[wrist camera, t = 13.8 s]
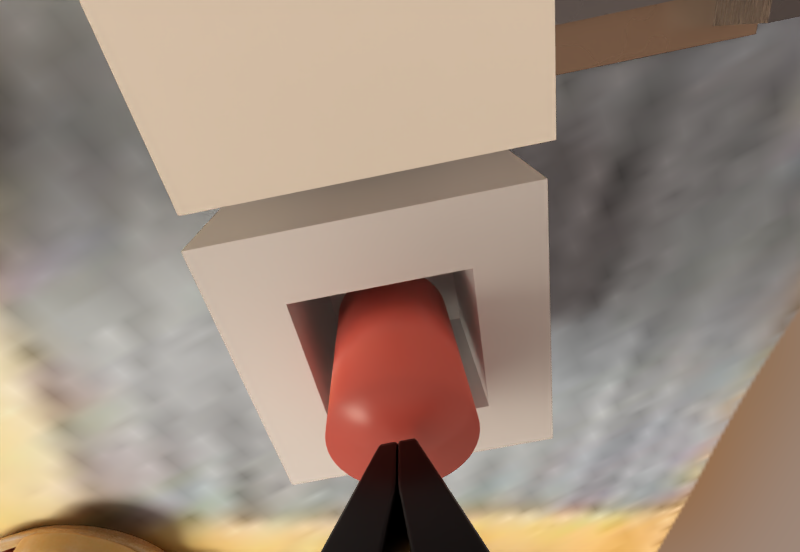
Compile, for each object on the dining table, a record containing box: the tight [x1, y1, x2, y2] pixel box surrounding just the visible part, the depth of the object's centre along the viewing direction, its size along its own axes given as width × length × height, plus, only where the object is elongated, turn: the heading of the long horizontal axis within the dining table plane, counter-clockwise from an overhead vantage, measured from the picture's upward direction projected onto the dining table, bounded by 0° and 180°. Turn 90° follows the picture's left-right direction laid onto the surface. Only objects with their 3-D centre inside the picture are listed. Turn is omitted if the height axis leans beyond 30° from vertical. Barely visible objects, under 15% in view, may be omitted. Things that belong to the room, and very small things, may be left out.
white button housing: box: [181, 150, 553, 485], centre depth 15 cm, size 9×9×6 cm
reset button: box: [325, 278, 480, 480], centre depth 12 cm, size 4×4×5 cm
